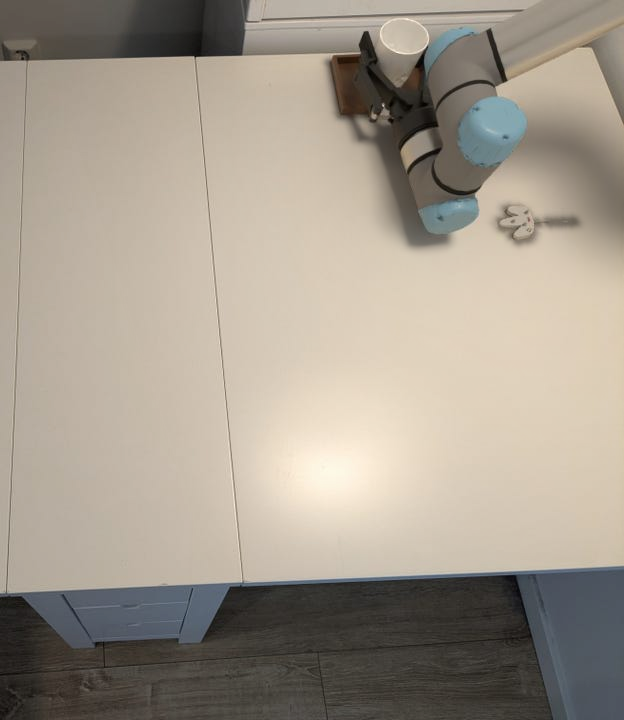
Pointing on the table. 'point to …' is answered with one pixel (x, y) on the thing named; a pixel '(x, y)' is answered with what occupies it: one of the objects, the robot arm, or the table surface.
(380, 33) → the white cup
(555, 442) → the table surface
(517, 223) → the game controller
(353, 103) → the tray
